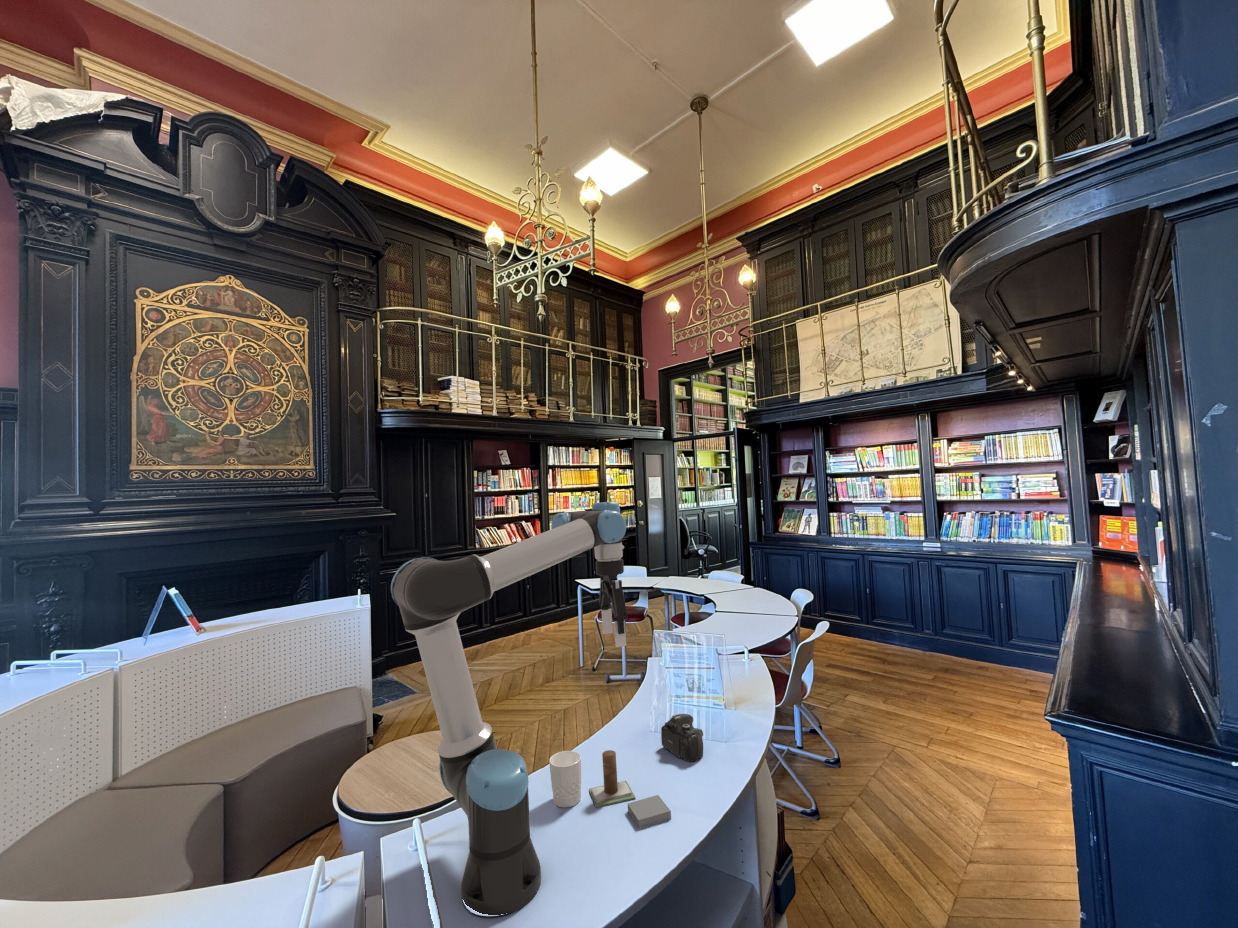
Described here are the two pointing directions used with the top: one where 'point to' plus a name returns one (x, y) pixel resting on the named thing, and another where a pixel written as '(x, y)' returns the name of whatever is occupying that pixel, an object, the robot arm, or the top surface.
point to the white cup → (566, 778)
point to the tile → (649, 811)
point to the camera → (682, 737)
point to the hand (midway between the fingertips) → (614, 639)
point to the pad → (613, 799)
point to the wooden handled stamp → (610, 781)
